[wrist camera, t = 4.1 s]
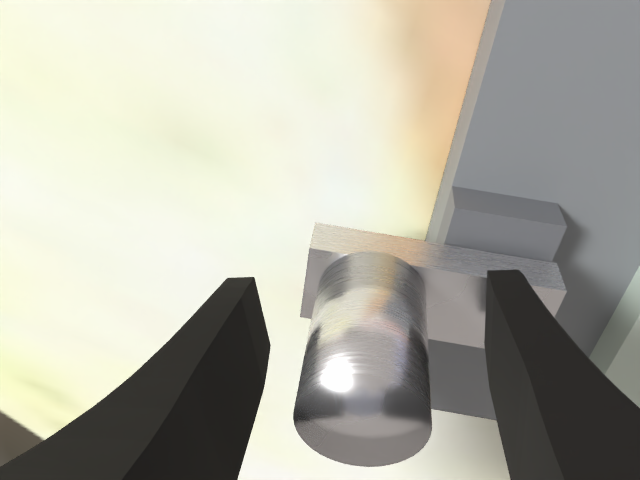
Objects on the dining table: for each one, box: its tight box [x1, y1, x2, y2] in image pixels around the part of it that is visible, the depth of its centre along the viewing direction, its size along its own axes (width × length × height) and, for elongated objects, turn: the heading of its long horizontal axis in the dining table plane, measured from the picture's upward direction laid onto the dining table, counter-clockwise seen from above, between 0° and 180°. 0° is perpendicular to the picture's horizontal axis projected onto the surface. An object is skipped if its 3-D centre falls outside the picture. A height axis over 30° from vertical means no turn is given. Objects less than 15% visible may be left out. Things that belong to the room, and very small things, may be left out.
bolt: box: [293, 223, 567, 467], centre depth 12 cm, size 6×2×4 cm, turn 83°
